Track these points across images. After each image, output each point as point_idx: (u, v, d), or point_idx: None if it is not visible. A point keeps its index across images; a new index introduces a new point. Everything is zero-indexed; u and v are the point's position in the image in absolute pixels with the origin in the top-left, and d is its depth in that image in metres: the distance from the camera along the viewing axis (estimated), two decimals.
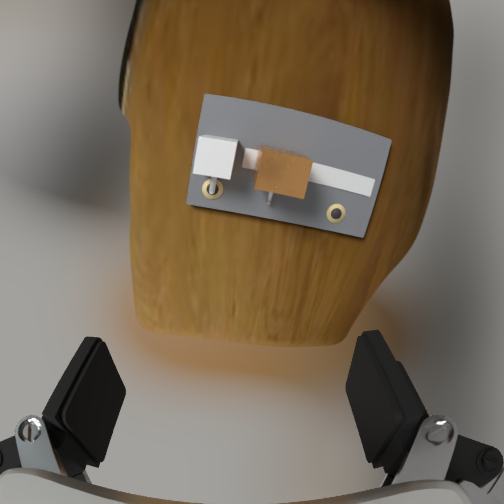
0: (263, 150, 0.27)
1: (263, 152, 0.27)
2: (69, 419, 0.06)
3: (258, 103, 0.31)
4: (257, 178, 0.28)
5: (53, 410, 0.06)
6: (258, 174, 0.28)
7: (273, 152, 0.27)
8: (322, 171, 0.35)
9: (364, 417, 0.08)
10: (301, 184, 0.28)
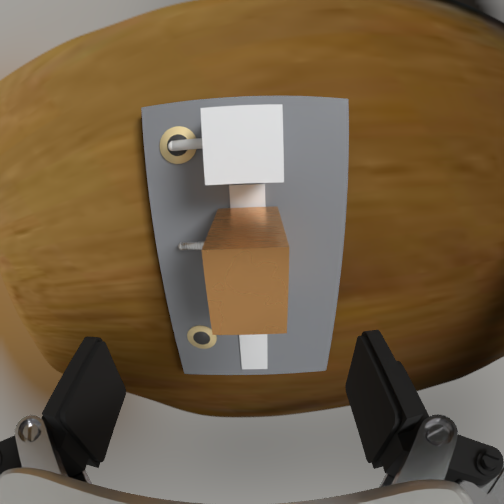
0: (286, 249, 0.13)
1: (282, 250, 0.13)
2: (69, 419, 0.06)
3: (345, 189, 0.20)
4: (225, 251, 0.14)
5: (53, 410, 0.06)
6: (234, 251, 0.13)
7: (286, 268, 0.14)
8: None
9: (364, 417, 0.08)
10: (237, 326, 0.15)
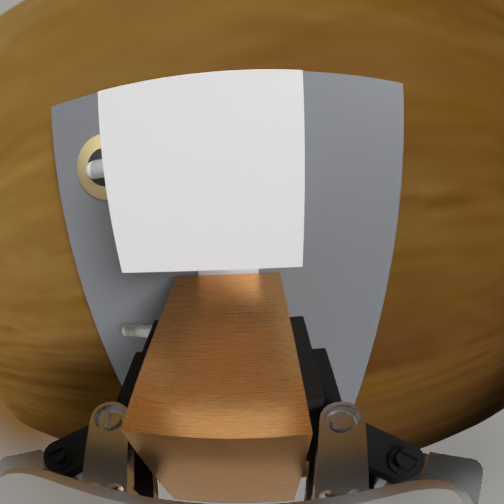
0: (306, 437, 0.05)
1: (296, 438, 0.05)
2: None
3: (392, 237, 0.11)
4: (169, 436, 0.05)
5: None
6: (188, 439, 0.05)
7: (302, 455, 0.05)
8: None
9: None
10: (212, 497, 0.07)
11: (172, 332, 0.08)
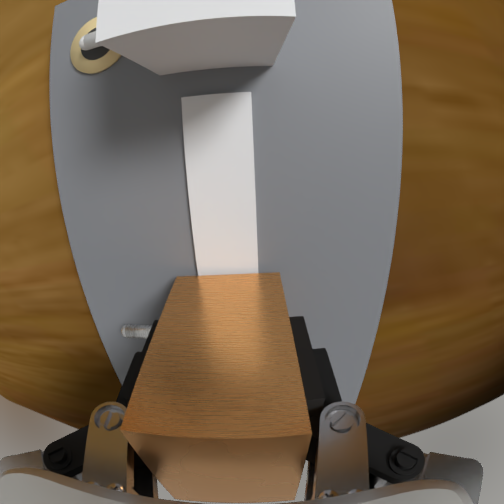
0: (305, 437, 0.05)
1: (296, 438, 0.05)
2: None
3: (399, 111, 0.09)
4: (168, 437, 0.05)
5: None
6: (187, 439, 0.05)
7: (301, 455, 0.05)
8: None
9: None
10: (213, 497, 0.07)
11: (172, 332, 0.08)
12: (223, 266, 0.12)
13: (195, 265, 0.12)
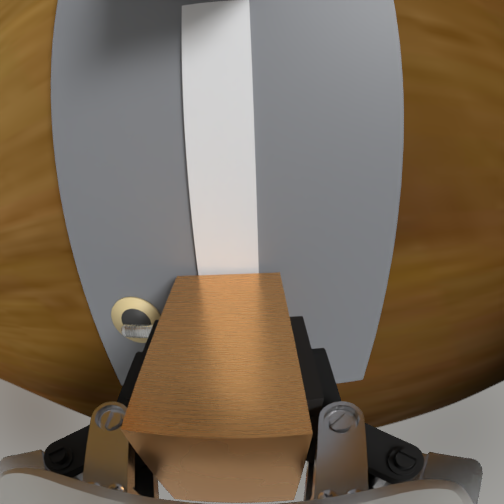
0: (306, 436, 0.05)
1: (296, 438, 0.05)
2: None
3: (394, 26, 0.08)
4: (169, 436, 0.05)
5: None
6: (188, 439, 0.05)
7: (302, 455, 0.05)
8: (237, 253, 0.11)
9: None
10: (212, 497, 0.07)
11: (172, 332, 0.08)
12: (216, 168, 0.10)
13: (186, 170, 0.10)
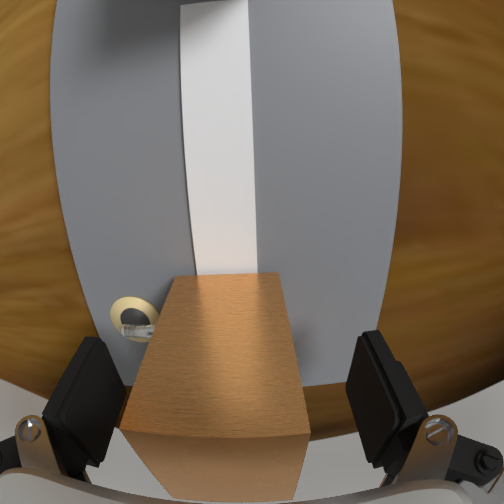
0: (304, 436, 0.05)
1: (294, 437, 0.05)
2: (69, 419, 0.06)
3: (392, 26, 0.08)
4: (167, 435, 0.05)
5: (53, 410, 0.06)
6: (186, 438, 0.05)
7: (300, 455, 0.05)
8: (235, 252, 0.11)
9: (364, 417, 0.08)
10: (211, 497, 0.07)
11: (171, 331, 0.08)
12: (215, 167, 0.10)
13: (184, 169, 0.10)
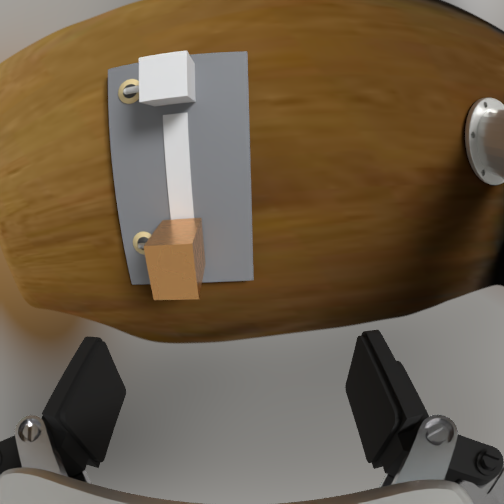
0: (190, 245, 0.23)
1: (188, 245, 0.23)
2: (69, 419, 0.06)
3: (247, 113, 0.26)
4: (156, 246, 0.22)
5: (53, 410, 0.06)
6: (161, 246, 0.22)
7: (192, 256, 0.23)
8: (185, 210, 0.29)
9: (364, 417, 0.08)
10: (168, 293, 0.24)
11: (159, 231, 0.26)
12: (177, 178, 0.28)
13: (166, 179, 0.28)
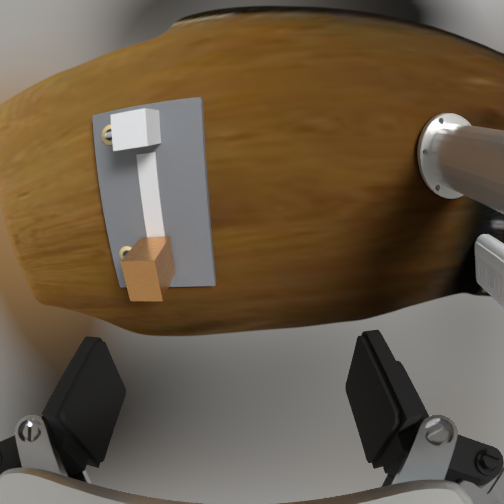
0: (153, 261, 0.29)
1: (152, 261, 0.29)
2: (69, 419, 0.06)
3: (202, 151, 0.32)
4: (129, 262, 0.29)
5: (53, 410, 0.06)
6: (133, 262, 0.29)
7: (155, 269, 0.30)
8: (157, 230, 0.36)
9: (364, 417, 0.08)
10: (140, 296, 0.31)
11: (135, 248, 0.33)
12: (150, 205, 0.34)
13: (142, 205, 0.35)
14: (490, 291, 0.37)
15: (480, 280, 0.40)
